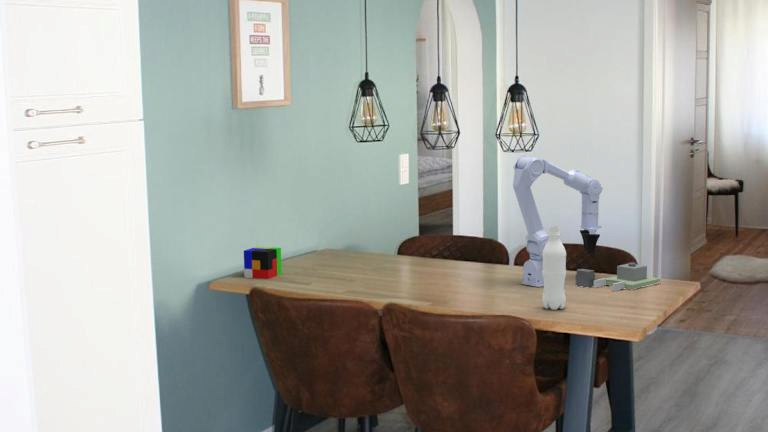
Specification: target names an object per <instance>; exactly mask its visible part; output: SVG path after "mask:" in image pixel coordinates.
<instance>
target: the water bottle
mask: <svg viewBox="0 0 768 432" xmlns="http://www.w3.org/2000/svg"><path fill="white" fill-rule="evenodd" d="M548 230H549V232H548V233H547V234H548V236H549V239H548V242H547V243H546V245H545V247H544V249H543V253H542V255H543V270H542V275H543V279H544V286H543V291H542V295H541V296H542V297H541V299H542V305H543V307H544V309H547V310H548V309H551V310H552V311H555V310H556V311H557V310H559V309H560V310H562V309H564V308H565V305H566V302H567V295H566V292H565V282H566V281H565V280H566V277H567V269H566V268H567V266H566V265H567V264H566V263H567V251H566V248H565V246H564V244H563V242H562V240H561V238H560V236H561V231H560V226H553V225H552V226H549V229H548Z"/></svg>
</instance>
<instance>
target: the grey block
mask: <svg viewBox="0 0 768 432" xmlns="http://www.w3.org/2000/svg"><path fill="white" fill-rule="evenodd" d="M594 280H596V274H595V270H593V269H587V268H586V269H585V268H578V269H576V274H575V286H576V285H577V286H576V287H579V286H583V287H582V288H585V287H590V288H593V287H592V286H594Z"/></svg>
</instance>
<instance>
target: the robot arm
mask: <svg viewBox="0 0 768 432" xmlns="http://www.w3.org/2000/svg"><path fill="white" fill-rule="evenodd" d="M513 170H514V171H513V172H514V175H513V181H512V187H513V191H514V193H515V196H516V197H515V198H516V200H517V204H518V206H519V210H520V212H521V215H522V216H521V217H522V218H523V221H524V225H525V228H526V231H527V234H526V236H525V241H526V251H527V253H528V254H529V259H528V260H526V261H525V262H524V263H523V269H522V270H523V271H522V273H523V274H522V276H523V277H522V278H523V279H522V280H523V281H522V282H521V284H522V285H525V286H531V287H537V288H541V287H544V279H543V275H542V270H543V255H542V253H543V249H544V247H545V245H546V243H547V242H548V239H549V235H548V234H549V233H547V232H546V231H545V229H544V227H543V224H542V220H541V218H540V213H539V211H538V208H537V204H536V201H535V198H534V195H533V192H532V189H531V186H533V184H534V182H535V181H537V179H538V178H539V177H540V176H541V175H542V174H549V175H551V176H553V177H556V178H557V179H560V180H563V181H562V182H563V184H564V185H565V186H567V187H570V188H571V189H573V190H576V191H578V192H579V193H580V194H581V220H580V221H581V223H580V224H581V225H580V228H581V229H580V230H579V232H580V235H581V238H582V244H583V249H584V251H586V252H587V254H588V255H593V254H595V251H596V249H597V248H596V247H597V243H598V241H599V238H600V237H601V235H600V234H599V233H596V232H597V230H598V229H602V227H603V226H602V225H599V202H600V201H599V200H600V196H601V193H602V192H603V187H602V185H601V183H600V181H599V180H598V179H592V178H590V176H589V175H588V174H587V175H585V174H582V173H580V170H578V169H570V170H566V169H564V168H562V167H560V166H557V165H556V164H554V163H552V162H550V161H549V160H545V159H542V158H540V157H531V156H526V155H522V156H520V157H518V159H516V161H515V163H514V165H513Z"/></svg>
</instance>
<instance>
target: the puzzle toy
mask: <svg viewBox="0 0 768 432" xmlns="http://www.w3.org/2000/svg"><path fill="white" fill-rule="evenodd" d="M243 269H244V271H243V272H244V278H248V279H250V278H251V279H263V280H270V279H272V278H275V277H278V276H281V275H283V274H282V273H283V272H282V271H283V270H282V247H276V246H275V247H271V246H255V247H252V248H248V249H245V250H243Z"/></svg>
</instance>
